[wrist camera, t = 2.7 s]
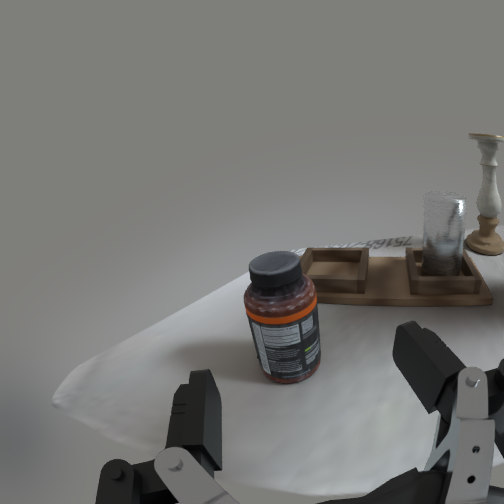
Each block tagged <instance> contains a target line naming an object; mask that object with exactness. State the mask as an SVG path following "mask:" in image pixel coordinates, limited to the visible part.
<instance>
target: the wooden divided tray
mask: <svg viewBox="0 0 504 504" xmlns="http://www.w3.org/2000/svg"><path fill="white" fill-rule="evenodd" d="M422 253H423V248H406V256H405V257H369V248H307V249H306V251H305V253H304V254H303V256H299V258H300V263H301V268H302V274H304V275H305V276H307V277H309V278H310V279H311V281H312V282H313V284H314V286H315V290H316V297H317V303H330V304H352V305H383V306H468V305H491V304H492V301H493V297H492V295H491V293H490V291H489V289H488V287H487V285H486V283H485V281H484V279H483V278H482V276H481V274H480V272H479V270H478V269H477V267H476V265H475V264H474V262H473V260H472V259H471V257H469V256H468V255H467V253H466V251H465V250H464V248H463V253H462V261H461V268H460V274H459V276H421V266H422Z"/></svg>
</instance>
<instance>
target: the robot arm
mask: <svg viewBox="0 0 504 504" xmlns="http://www.w3.org/2000/svg"><path fill="white" fill-rule="evenodd" d="M393 359H394V362H395V364H396V366H397V367H398V368H399V370H400V371H401V373H402V374H403V376H404V377H405V379H406V380H407V382H408V383H409V385H410V386H411V388H412V389H413V391H414V392H415V394H416V395H417V397H418V398H419V400H420V401H421V403H422V404H423V406H424V407H425V409H426V410H427V412H428V414H430V413H432V412H434V411H436V410H438V411H439V415H438V420H437V426H436V432H435V437H434V442H433V447H432V451H431V454H430V457H429V459H428V461H427V463H426V465H425V468H424V471H421V472H418V470H417V468H416V467H415V468H413V469H411V470H409V471H407V472H405V473H403V474H401V475H399V476H397V477H394V478H392V479H390V480H389V481H387V482H386V483H384V484H383V485H381V486H380V487H378V488H377V489H375V490H374V491H372V492H370V493H369V494H367V495H366V496H363V497H359V498H350V499H340V500H329V501H325V502H321V503H317V504H504V488H500V487H495V486H490V485H489V483H490V477H491V470H492V463H493V453H494V442H495V444H496V445H497V447H498V449H499V451H500V453H501V454H502V456H503V458H504V359H502V360H501V362H500V364H499V366H498V368H496V369H492V370H489V371H485V372H483V371H482V370H481V369H479V368H477V367H466V366H465V365H464V364H463V363H462V362H461V361H460V359H459V358H458V357H457V356H456V355H455V354H454V353H453V352H452V351H451V350H450V349H449V347H446V344H445V343H444V342H443V341H441V339H440V338H439V337H438V336H437V335H436V334H435V333H434V332H432V331H430V330H428V329H426V328H423V329H422V328H421V327H420V326H419V325H418V324H417V323H416V322H415V321H410V322H407V323H404V324H402V325H399V326H398V327H397V329H396V335H395V341H394V346H393ZM172 405H173V407H172V410H171V416H170V423H169V429H168V435H167V442H166V447H165V449H164V450H163V451H161V452H160V453H159V454H158V455H157V457H156V459H154V460H151V461H148V462H143V463H139V464H134V465H130V464H129V463H128V462H126V461H125V460H121V459H114V460H111V461H109V462H107V463H106V464H105V465H104V466H103V468H102V470H101V474H100V479H99V485H98V490H97V496H96V503H95V504H176V503H180V504H239V503H238V502H237V501H236V500H235V499H234V498H233V497H232V496H231V495H230V494H229V493H227V492H226V491H225V490H224V489H223V488H222V487H221V486H220V485H219V484H218V483H217V482H216V481H215V480H214V471H220V470H222V405H221V397H220V393H219V391H218V388H217V386H216V383H215V381H214V378H213V376H212V373H211V371H210V370H209V369H206V370H198V371H191V373H190V378H189V384H181V385H180V386H179V388H178V389H177V391H176V392H175V394H174V399H173V404H172Z"/></svg>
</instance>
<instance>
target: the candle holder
mask: <svg viewBox="0 0 504 504" xmlns="http://www.w3.org/2000/svg"><path fill="white" fill-rule="evenodd" d="M469 138H470V139H474V140H476V141H477V142H478V148H479V149H480V150H481V153H482V160H481V162H480V164H481V165H482V167H483V182H482V187H481V189H480V192H479V195H478V198H477V202H476V204H477V208H478V210H479V212H480V215H479V216H478V217H477V219H478V221H479V224H480V229H478V230H474V231H473V232H472V234H470V235H468V236H467V238H466V243H467V246H468V247H469V248H471V249H472V250H474V251H476V252H479V253H482V254H486V255H498V254H501V253H503V252H504V242H503V241H502V239H501V237H500V235H498V234H497V233H495V228H496V226H497V225H498V223H499V221H498V219H497V217H496V216H497V215H498V214H499V213H500V211H501V199H500V196H499V193H498V189H497V185H496V167H498V164H497V162H496V160H495V153H496V151H497V150H498V143H500V142H504V137H503V136H496V135H487V134H474V133H469Z"/></svg>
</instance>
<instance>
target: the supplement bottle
mask: <svg viewBox="0 0 504 504" xmlns="http://www.w3.org/2000/svg"><path fill="white" fill-rule="evenodd" d="M249 272H250V280H251V281H252V283H251V284H250V285H249V286H248V288H247V290H246V291H245V293H244V304H245V308H246V313H247V317H248V319H249V324H250V328H251V332H252V336H253V340H254V343H255V347H256V351H257V355H258V357H257V358H258V359H259V363H260V366H261V369H262V371H263V373H264V374H265V375H266V376H267V377H268V378H270V379H271V380H273V381H275V382H278V383H295V382H300V381H302V380H305V379H306V378H308V377H310V376H311V375H312V374H313V373H314V372H315V371H316V370H317V368H318V366H319V364H320V356H321V351H320V335H319V320H318V307H317V297H316V290H315V286H314V284H313V282H312V281H311V279H310V278H309V277H307V276H305V275H304V274H302V268H301V263H300V258H299V256H298V255H297V254H295V253H293V252H289V251H277V252H276V251H275V252H269V253H266V254H263V255H260V256H258V257H256V258H255V259H253V260H252V261H251V262H250V264H249Z"/></svg>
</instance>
